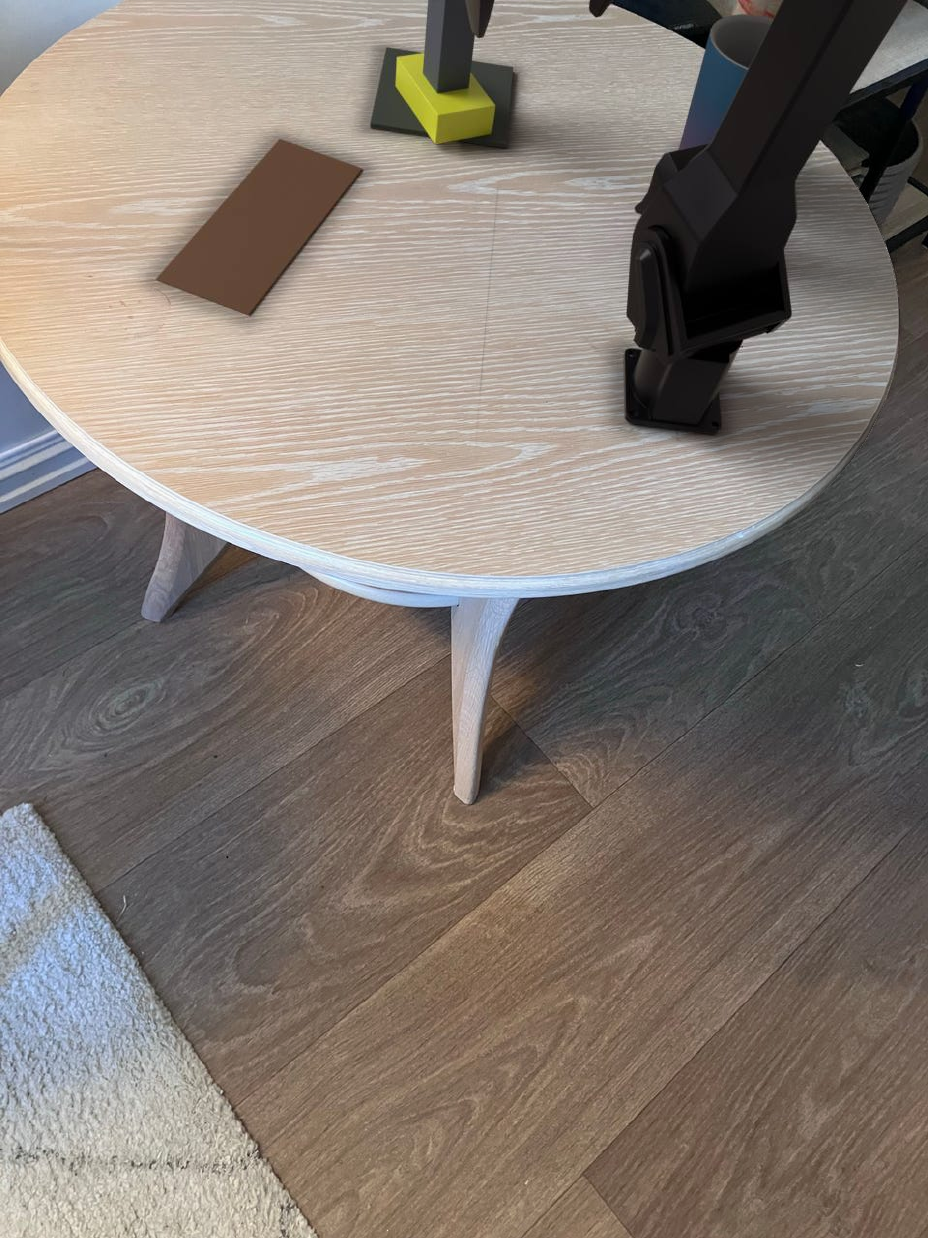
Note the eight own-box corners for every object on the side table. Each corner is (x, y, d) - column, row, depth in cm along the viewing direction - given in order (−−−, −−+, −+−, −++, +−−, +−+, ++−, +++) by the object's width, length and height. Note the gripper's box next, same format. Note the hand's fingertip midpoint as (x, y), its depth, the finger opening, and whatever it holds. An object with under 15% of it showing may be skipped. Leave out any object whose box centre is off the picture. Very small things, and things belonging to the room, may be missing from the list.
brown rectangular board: (249, 316, 63) (248, 313, 63) (156, 280, 63) (155, 278, 63) (362, 170, 72) (362, 167, 72) (279, 140, 72) (279, 138, 72)
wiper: (435, 144, 74) (453, -54, 62) (395, 85, 77) (405, -113, 65) (491, 133, 75) (520, -62, 63) (449, 77, 78) (469, -119, 66)
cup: (728, 222, 74) (810, 23, 61) (732, 280, 70) (820, 83, 57) (643, 208, 73) (708, 5, 60) (643, 266, 70) (712, 64, 57)
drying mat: (506, 148, 75) (507, 143, 75) (370, 127, 74) (370, 123, 74) (512, 71, 81) (513, 66, 80) (386, 51, 80) (386, 46, 80)
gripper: (652, -349, 55) (591, -55, 69) (364, -341, 49) (359, -21, 63) (763, -270, 51) (674, 27, 64) (462, -251, 45) (434, 73, 58)
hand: (537, 23), depth 63 cm, fingers open, 9 cm apart
